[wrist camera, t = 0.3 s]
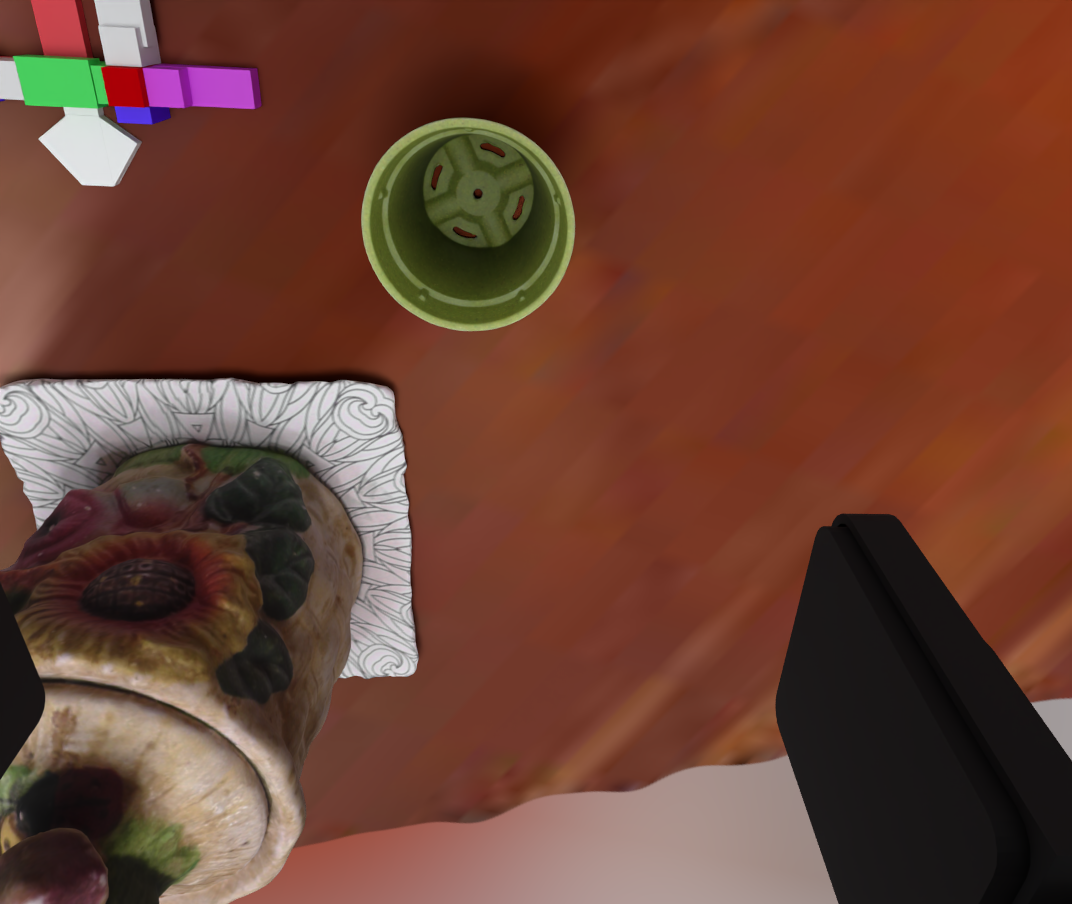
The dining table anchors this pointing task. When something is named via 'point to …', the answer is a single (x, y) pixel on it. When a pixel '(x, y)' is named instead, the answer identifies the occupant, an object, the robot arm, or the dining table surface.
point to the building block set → (111, 84)
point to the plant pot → (468, 224)
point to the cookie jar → (192, 622)
